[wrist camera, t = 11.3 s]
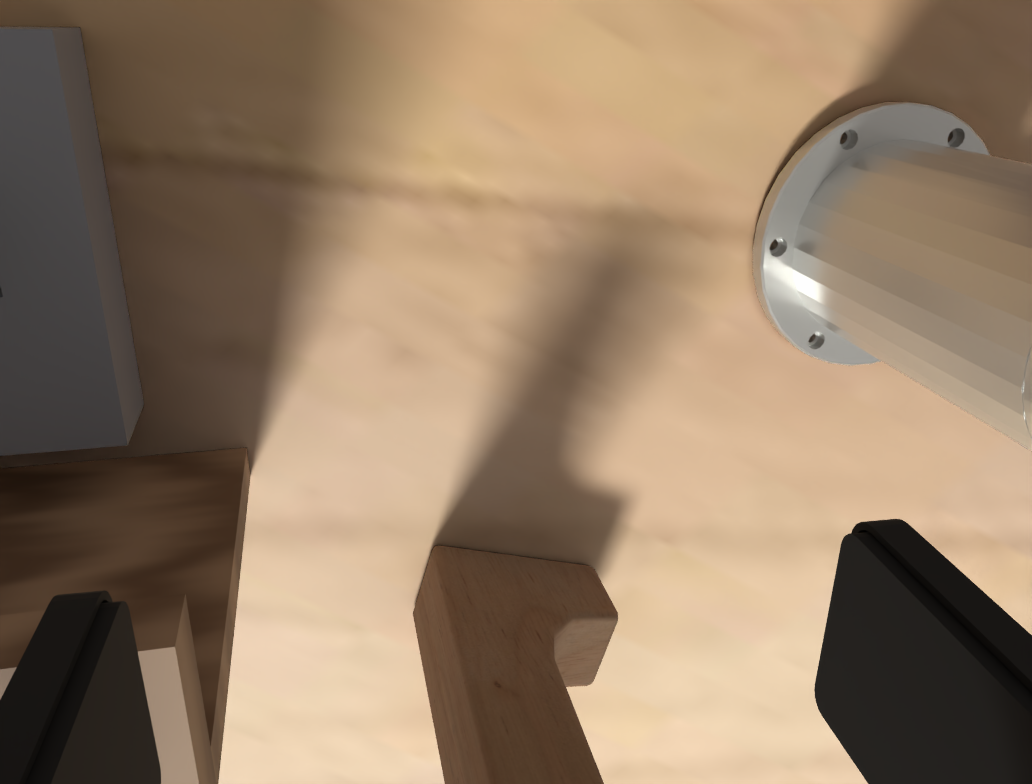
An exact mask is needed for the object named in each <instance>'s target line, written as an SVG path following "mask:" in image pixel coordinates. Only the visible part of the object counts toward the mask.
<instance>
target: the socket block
mask: <svg viewBox="0 0 1032 784" xmlns="http://www.w3.org/2000/svg"><path fill="white" fill-rule="evenodd" d="M143 406H144V401H143V395H142V389H141V383H140V377H139V371H138V365H137V360H136V354H135V348H134V342H133V336H132V330H131V324H130V318H129V312H128V306H127V301H126V295H125V289H124V283H123V277H122V271H121V265H120V259H119V253H118V248H117V242H116V236H115V230H114V224H113V218H112V212H111V206H110V200H109V195H108V189H107V183H106V177H105V171H104V165H103V159H102V153H101V147H100V141H99V136H98V130H97V124H96V118H95V112H94V106H93V100H92V94H91V88H90V83H89V77H88V71H87V65H86V59H85V53H84V47H83V41H82V35H81V30H80V27H0V456H5V455H17V454H29V453H41V452H53V451H65V450H77V449H89V448H102V447H114V446H126V445H128V444H129V441H130V439H131V436H132V433H133V431H134V428H135V426H136V423H137V421H138V418H139V416H140V413H141V411H142V408H143Z"/></svg>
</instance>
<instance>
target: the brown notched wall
mask: <svg viewBox="0 0 1032 784" xmlns="http://www.w3.org/2000/svg"><path fill="white" fill-rule="evenodd" d="M249 484H250V471H249V463H248V454H247V448H236V449H224V450H213V451H201V452H189V453H178V454H166V455H154V456H142V457H131V458H119V459H107V460H96V461H84V462H72V463H60V464H49V465H37V466H25V467H13V468H2V469H0V699H1V697H2V695H3V693H4V691H5V689H6V687H7V685H8V683H9V681H10V680H11V678H12V676H13V674H14V672H15V670H16V668H17V666H18V664H19V662H20V660H21V658H22V656H23V654H24V652H25V650H26V648H27V646H28V644H29V642H30V640H31V638H32V636H33V634H34V632H35V630H36V628H37V626H38V624H39V622H40V620H41V618H42V616H43V614H44V612H45V610H46V608H47V607H48V605H49V603H50V601H51V600H52V598H53V597H54V596H56V595H60V594H71V593H82V592H93V591H104V590H105V591H107V592H109V594H110V596H111V598H112V601H113V602H117V601H125V602H126V603H127V605H128V607H129V611H130V616H131V621H132V626H133V631H134V636H135V641H136V646H137V651H138V656H139V661H140V666H141V671H142V676H143V681H144V687H145V692H146V697H147V702H148V707H149V712H150V717H151V722H152V727H153V732H154V737H155V742H156V747H157V752H158V757H159V762H160V769H161V784H218V779H219V770H220V760H221V751H222V741H223V732H224V722H225V713H226V703H227V694H228V684H229V674H230V665H231V655H232V646H233V636H234V627H235V617H236V608H237V598H238V589H239V579H240V569H241V560H242V550H243V541H244V531H245V522H246V512H247V503H248V493H249Z"/></svg>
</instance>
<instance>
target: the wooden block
mask: <svg viewBox="0 0 1032 784" xmlns="http://www.w3.org/2000/svg"><path fill="white" fill-rule="evenodd" d="M413 616H414V622H415V627H416V633H417V638H418V643H419V649H420V654H421V660H422V665H423V671H424V676H425V681H426V686H427V692H428V697H429V702H430V707H431V712H432V718H433V723H434V728H435V733H436V739H437V744H438V749H439V754H440V760H441V765H442V770H443V776H444V781H445V784H604V783H603V780H602V778H601V775H600V773H599V770H598V768H597V765H596V763H595V760H594V758H593V755H592V752H591V750H590V747H589V745H588V742H587V740H586V737H585V735H584V732H583V730H582V727H581V725H580V722H579V719H578V717H577V714H576V712H575V709H574V707H573V704H572V702H571V699H570V697H569V694H568V692H567V689H566V687H572V686H587V685H590V684H591V683H592V682H593V681H594V679H595V676H596V674H597V671H598V669H599V666H600V664H601V661H602V659H603V656H604V654H605V651H606V649H607V646H608V644H609V641H610V639H611V636H612V634H613V631H614V629H615V626H616V624H617V621H618V613H617V611H616V609H615V607H614V605H613V603H612V601H611V599H610V598H609V596H608V594H607V592H606V590H605V588H604V586H603V584H602V583H601V581H600V579H599V577H598V575H597V573H596V571H595V569H593V568H592V567H590V566H588V565H580V564H573V563H566V562H558V561H551V560H543V559H536V558H529V557H521V556H514V555H507V554H499V553H492V552H484V551H477V550H470V549H462V548H455V547H448V546H435V547H434V549H433V550H432V552H431V555H430V559H429V562H428V565H427V569H426V572H425V575H424V578H423V582H422V585H421V588H420V592H419V595H418V598H417V601H416V605H415V608H414V611H413Z"/></svg>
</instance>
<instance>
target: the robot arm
mask: <svg viewBox="0 0 1032 784" xmlns="http://www.w3.org/2000/svg"><path fill="white" fill-rule="evenodd" d="M841 136H842V138H841ZM840 138H841V140H840ZM772 242H773V244H772V246H771V247H770V245H771V243H772ZM753 277H754V282H755V287H756V292H757V297H758V299H759V301H760V303H761V306H762V308H763V310H764V313H765V315H766V317H767V318H768V320H769V321H770V322H771V324H772V325H773V326H774V328H775V329H776V330H777V332H778V333H779V334H780V335H781V336H783V337H784V338H785V339H786V340H787V341H788V342H790V343H791V344H792V345H793V346H795V347H796V348H798V349H799V350H801V351H802V352H804V353H805V354H807V355H809V356H811V357H814V358H816V359H819V360H822V361H825V362H827V363H831V364H839V365H847V366H854V365H867V364H873V363H877V362H881V361H882V362H884V363H885V364H887V365H889V366H890V367H892V368H894V369H895V370H897V371H899V372H900V373H902V374H904V375H905V376H907V377H909V378H910V379H912V380H913V381H915V382H917V383H918V384H920V385H922V386H923V387H925V388H927V389H928V390H930V391H932V392H933V393H935V394H937V395H938V396H940V397H942V398H943V399H945V400H947V401H948V402H950V403H952V404H953V405H955V406H957V407H958V408H960V409H962V410H963V411H965V412H967V413H968V414H970V415H972V416H973V417H975V418H977V419H978V420H980V421H982V422H983V423H985V424H987V425H988V426H990V427H992V428H993V429H995V430H997V431H998V432H1000V433H1002V434H1003V435H1005V436H1006V437H1008V438H1010V439H1011V440H1013V441H1015V442H1016V443H1018V444H1020V445H1021V446H1023V447H1025V448H1027V449H1029V450H1030V451H1032V164H1029V163H1024V162H1019V161H1015V160H1010V159H1005V158H1000V157H995V156H991V155H990V153H989V151H988V149H987V147H986V145H985V143H984V142H983V140H982V139H981V138H980V137H979V136H978V135H977V133H976V132H975V131H974V130H973V129H972V128H971V126H970V125H968V124H967V123H965V122H964V121H963V120H961V119H960V118H958V117H957V116H955V115H954V114H953V113H950V112H948V111H945V110H942V109H940V108H937V107H934V106H931V105H925V104H919V103H913V102H884V103H879V104H875V105H870V106H866V107H862V108H859V109H857V110H855V111H853V112H850V113H848V114H846V115H844V116H841V117H839V118H837V119H836V120H834V121H833V122H831V123H830V124H828V125H827V126H826V127H824V128H823V129H821V130H820V131H818V132H817V133H815V134H814V135H813V136H812V137H811V138H810V139H809V140H808V141H807V142H806V143H805V144H804V145H803V146H802V147H801V148H800V149H799V150H798V151H797V152H796V153H795V154H794V155H793V156H792V158H791V159H790V160H789V162H788V163H787V164H786V166H785V167H784V168H783V170H782V171H781V172H780V174H779V175H778V177H777V179H776V181H775V183H774V184H773V186H772V188H771V190H770V192H769V194H768V196H767V198H766V200H765V203H764V205H763V208H762V211H761V214H760V217H759V220H758V223H757V227H756V233H755V239H754V245H753ZM815 698H816V703H817V706H818V709H819V711H820V713H821V715H822V716H823V718H824V719H825V721H826V722H827V724H828V725H829V727H830V728H831V729H832V731H833V732H834V734H835V735H836V737H837V738H838V740H839V741H840V743H841V744H842V746H843V747H844V749H845V750H846V752H847V753H848V754H849V756H850V757H851V759H852V760H853V762H854V763H855V765H856V766H857V768H858V769H859V771H860V772H861V774H862V775H863V776H864V778H865V779H866V781H867V782H868V784H1032V635H1031V634H1029V633H1028V632H1027V631H1026V630H1025V629H1024V628H1023V627H1022V626H1021V625H1020V624H1018V623H1017V622H1016V621H1015V620H1014V619H1013V618H1012V617H1011V616H1010V615H1008V614H1007V613H1006V612H1005V611H1004V610H1003V609H1002V608H1001V607H1000V606H998V605H997V604H996V603H995V602H994V601H993V600H992V599H991V598H990V597H989V596H987V595H986V594H985V593H984V592H983V591H982V590H981V589H980V588H979V587H977V586H976V585H975V584H974V583H973V582H972V581H971V580H970V579H969V578H967V577H966V576H965V575H964V574H963V573H962V572H961V571H960V570H959V569H957V568H956V567H955V566H954V565H953V564H952V563H951V562H950V561H949V560H948V559H946V558H945V557H944V556H943V555H942V554H941V553H940V552H939V551H938V550H936V549H935V548H934V547H933V546H932V545H931V544H930V543H929V542H928V541H926V540H925V539H924V538H923V537H922V536H921V535H920V534H919V533H918V532H917V531H915V530H914V529H913V528H912V527H911V526H910V525H909V524H908V523H906V522H905V521H903V520H900V519H890V520H879V521H868V522H860V523H858V524H856V526H855V527H854V528H853V530H852V533H851V534H848V535H846V536H845V537H844V538H843V540H842V543H841V548H840V553H839V559H838V564H837V570H836V575H835V580H834V586H833V591H832V596H831V602H830V607H829V612H828V618H827V623H826V628H825V634H824V639H823V644H822V650H821V655H820V660H819V666H818V671H817V676H816V682H815ZM0 784H161V769H160V762H159V757H158V752H157V747H156V742H155V737H154V732H153V727H152V722H151V717H150V712H149V707H148V702H147V697H146V692H145V687H144V681H143V676H142V671H141V666H140V661H139V656H138V651H137V646H136V641H135V636H134V631H133V626H132V621H131V616H130V611H129V607H128V605H127V603H126V602H125V601H117V602H113V601H112V598H111V596H110V594H109V592H107V591H105V590H104V591H93V592H82V593H71V594H60V595H56V596H54V597H53V598H52V600H51V601H50V603H49V605H48V607H47V608H46V610H45V612H44V614H43V616H42V618H41V620H40V622H39V624H38V626H37V628H36V630H35V632H34V634H33V636H32V638H31V640H30V642H29V644H28V646H27V648H26V650H25V652H24V654H23V656H22V658H21V660H20V662H19V664H18V666H17V668H16V670H15V672H14V674H13V676H12V678H11V680H10V681H9V683H8V685H7V687H6V689H5V691H4V693H3V695H2V697H1V699H0Z"/></svg>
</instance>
